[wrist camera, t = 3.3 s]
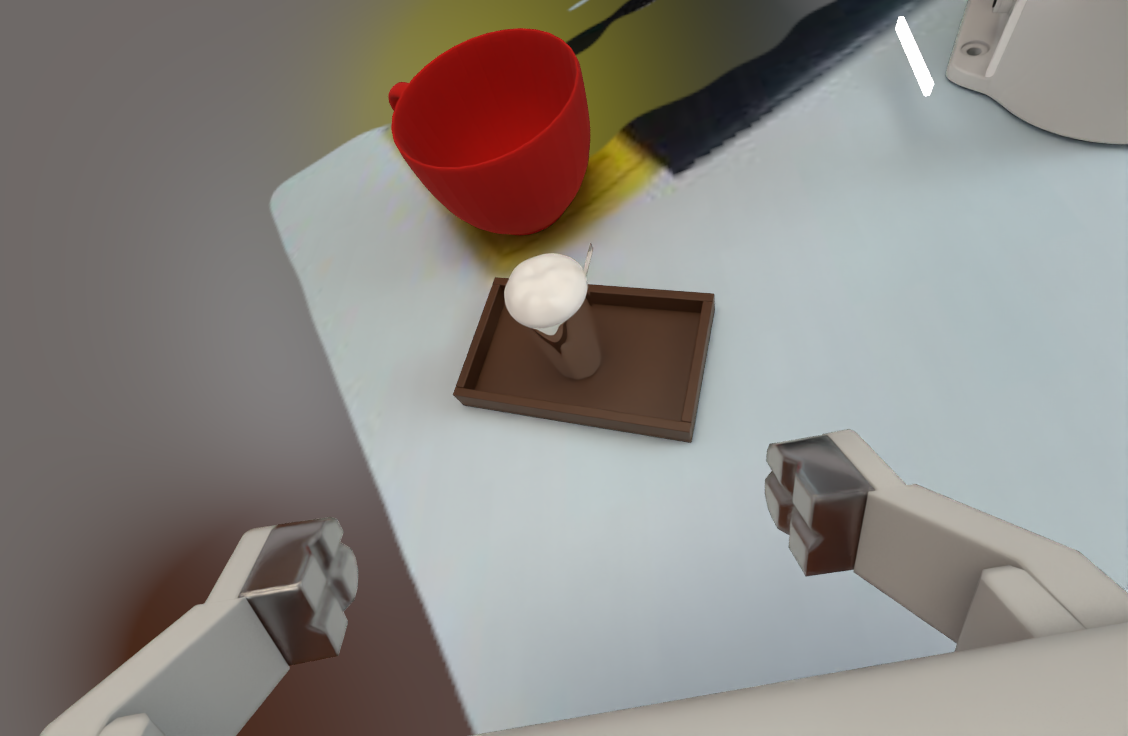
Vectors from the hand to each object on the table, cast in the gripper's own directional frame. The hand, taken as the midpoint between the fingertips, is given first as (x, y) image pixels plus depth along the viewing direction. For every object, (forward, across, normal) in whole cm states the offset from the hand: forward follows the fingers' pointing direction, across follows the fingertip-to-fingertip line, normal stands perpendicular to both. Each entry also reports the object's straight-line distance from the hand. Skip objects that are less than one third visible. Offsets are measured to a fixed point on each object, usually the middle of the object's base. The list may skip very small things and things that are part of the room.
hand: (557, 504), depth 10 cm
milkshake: (+24, -2, +10) cm, 26 cm away
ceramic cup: (+38, +1, +2) cm, 39 cm away
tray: (+24, -2, +10) cm, 26 cm away
